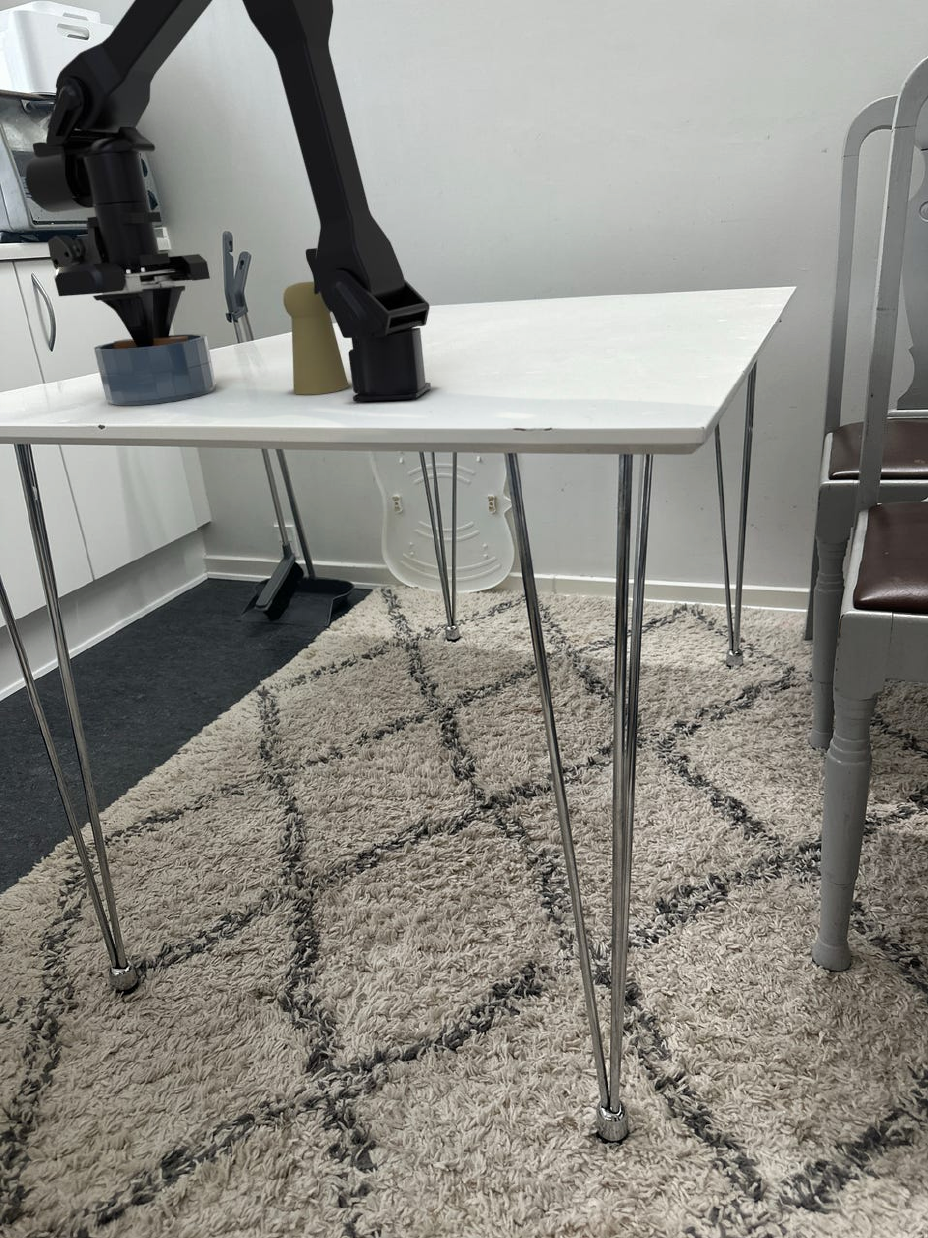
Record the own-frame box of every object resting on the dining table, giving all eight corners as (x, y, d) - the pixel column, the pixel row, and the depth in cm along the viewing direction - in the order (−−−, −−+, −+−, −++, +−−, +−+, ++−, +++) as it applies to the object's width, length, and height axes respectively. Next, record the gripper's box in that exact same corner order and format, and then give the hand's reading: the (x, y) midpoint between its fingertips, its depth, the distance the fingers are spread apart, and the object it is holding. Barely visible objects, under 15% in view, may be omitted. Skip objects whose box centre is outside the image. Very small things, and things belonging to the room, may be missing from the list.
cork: (338, 393, 94) (322, 282, 90) (284, 395, 95) (267, 286, 91) (356, 383, 99) (342, 277, 95) (305, 385, 101) (290, 282, 96)
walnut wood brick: (193, 361, 100) (187, 336, 99) (183, 364, 99) (177, 338, 98) (129, 364, 104) (124, 339, 103) (119, 366, 102) (113, 341, 101)
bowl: (233, 383, 107) (224, 331, 104) (183, 403, 96) (172, 346, 94) (143, 388, 110) (132, 337, 107) (84, 408, 99) (70, 352, 96)
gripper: (121, 209, 105) (150, 346, 112) (-5, 212, 90) (37, 371, 96) (198, 200, 101) (224, 342, 108) (80, 202, 86) (119, 368, 92)
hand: (154, 355), depth 101 cm, fingers closed on walnut wood brick, 2 cm apart
